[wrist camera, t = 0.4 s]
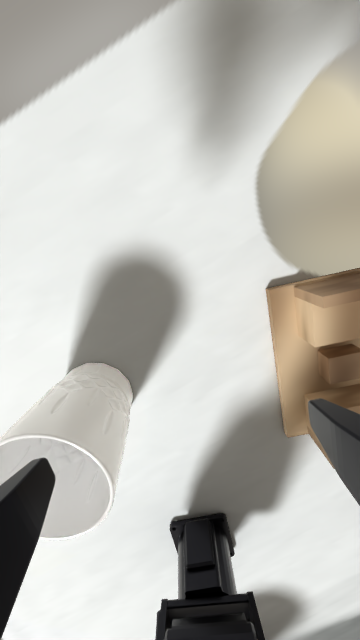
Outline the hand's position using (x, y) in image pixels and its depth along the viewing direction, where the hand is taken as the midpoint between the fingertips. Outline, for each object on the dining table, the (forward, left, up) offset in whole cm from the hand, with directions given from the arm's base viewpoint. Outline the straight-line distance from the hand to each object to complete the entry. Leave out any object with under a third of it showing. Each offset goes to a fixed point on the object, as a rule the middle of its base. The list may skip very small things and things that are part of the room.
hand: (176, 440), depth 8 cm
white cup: (-5, +9, -14) cm, 18 cm away
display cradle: (-6, -13, -14) cm, 20 cm away
